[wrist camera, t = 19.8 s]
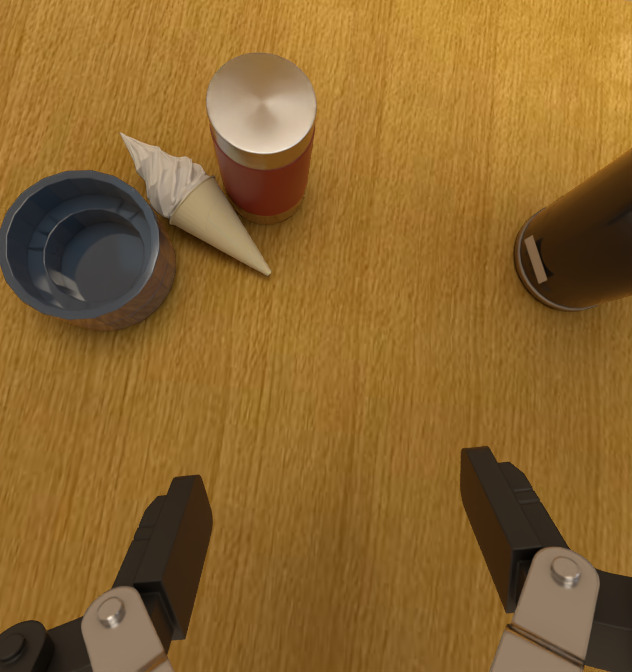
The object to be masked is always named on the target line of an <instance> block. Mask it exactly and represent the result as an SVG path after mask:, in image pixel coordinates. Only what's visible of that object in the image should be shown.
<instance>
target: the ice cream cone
mask: <svg viewBox="0 0 632 672" xmlns="http://www.w3.org/2000/svg"><path fill="white" fill-rule="evenodd" d="M119 134H120V135H121V136H122V138H123V140H124V142H125V144H126V146H127V148H128V150H129V152H130V154H131V156H132V158H133V161H134V163H135V167H136V172H137V173H138V174H139V175H140V176H141V177H142V178H143V179H144V180H145V183H146V190H147V198H148V199H149V200H150V205H151V206H152V208H153V209H154V210H155V211H156V212H157V213H159V214H161V215H162V216H163V217H165V218H168V219H170V221H169V224H170V225H175V226H177V227H179V228H181V229H182V230H184V231H186V232H188V233H190V234H192V235H194V236H195V237H197V238H199V239H201V240H203V241H205V242H206V243H208V244H210V245H212V246H213V247H215V248H217V249H219V250H221V251H222V252H224V253H226V254H228V255H230V256H232V257H233V258H235V259H237V260H239V261H241V262H243V263H244V264H246V265H248V266H250V267H252V268H254V269H255V270H257V271H259V272H261V273H263V274H265V275H266V276H268V275H269V274H270V273H271V272H272V271H271V270H270V268H269V266H268V265H267V263H266V261H265V260H264V258H263V257H262V255H261V253H260V252H259V250H258V248H257V247H256V245H255V243H254V242H253V240H252V239H251V237H250V235H249V234H248V232H247V230H246V229H245V227H244V226H243V224H242V222H241V221H240V219H239V217H238V216H237V214H236V212H235V211H234V209H233V208H232V206H231V204H230V203H229V201H228V199H227V198H226V196H225V195H224V193H223V192H222V190H221V188H220V187H219V185H218V184H217V182H216V180H215V176H214V175H213V176H208V175H206V172H205V171H204V170H203V168H202V166H201V165H199V164H196V163H192V160H191V159H190V158H188V157H186V156H184V157H175V156H171V155H169V154H167V153H166V152H164V151H162V150H160V147H158V146H152V145H148V144H145V143H143V142H140V141H138V140H136V139H133V138H131V137H128V136H126V135H124V134H122V133H119Z"/></svg>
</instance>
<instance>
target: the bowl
mask: <svg viewBox="0 0 632 672" xmlns="http://www.w3.org/2000/svg"><path fill="white" fill-rule="evenodd" d="M0 266H1V269H2V272H3V275H4V278H5V280H6V282H7V284H8V285H9V286H10V287H11V289H12V290H13V291H14V292H15V293H16V295H17V296H18V297H19V298H20V300H22V301H23V302H25V303H26V304H28V305H29V306H31V307H33V308H34V309H36V310H37V311H39V312H41V313H43V314H45V315H48V316H51V317H53V318H56V319H59V320H62V321H65V322H67V323H70V324H73V325H76V326H79V327H83V328H87V329H91V330H95V331H104V330H119V329H122V328H125V327H128V326H131V325H133V324H136V323H139V322H141V321H142V320H144V319H145V318H146V317H147V316H149V315H150V314H151V313H153V312H154V311H155V310H157V308H158V307H159V306H160V304H161V303H162V302H163V300H164V299H165V297H166V296H167V294H168V293H169V291H170V289H171V286H172V282H173V279H174V276H175V271H176V268H175V252H174V248H173V245H172V243H171V240H170V238H169V235H168V233H167V231H166V230H165V228H164V227H163V225H162V224H161V222H160V221H159V219H158V218H157V216H156V215H155V213H154V212H153V210H152V208H151V207H150V206H149V204H148V203H147V202H146V201H145V200H144V198H143V197H142V196H141V195H140V194H139V192H138V191H137V190H136V189H135V188H133V187H131V186H130V185H128V184H127V183H125V182H123V181H122V180H120V179H119V178H117V177H115V176H112V175H108V174H104V173H101V172H97V171H93V170H92V171H91V170H82V171H65V172H62V173H58V174H55V175H52V176H49V177H46V178H43V179H41V180H40V181H38V182H37V183H35V184H34V185H32V186H31V187H29V188H28V189H26V190H25V191H24V192H22V193H21V194H20V196H19V197H18V198H17V199H16V201H15V202H14V203H13V204H12V206H11V207H10V208H9V209H8V211H7V212H6V215H5V217H4V220H3V223H2V226H1V228H0Z"/></svg>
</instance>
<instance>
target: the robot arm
mask: <svg viewBox="0 0 632 672" xmlns="http://www.w3.org/2000/svg"><path fill="white" fill-rule="evenodd" d="M514 254H515V264H516V268H517V271H518V274H519V277H520V279H521V281H522V282H523V284H524V286H525V287H526V288H527V290H528V291H529V292H530V293H531V294H532V295H533V296H534V297H535V298H536V299H538V300H539V301H540V302H542V303H543V304H545V305H547V306H549V307H551V308H554V309H557V310H561V311H570V312H572V311H581V310H585V309H589V308H592V307H595V306H597V305H599V304H602V303H606V302H609V301H613V300H617V299H620V298H624V297H627V296H631V295H632V148H631V149H630V150H628V151H627V152H625V153H624V154H623V155H621V156H620V157H618V158H617V159H615V160H614V161H612V162H611V163H610V164H608V165H607V166H605V167H604V168H602V169H601V170H600V171H598V172H597V173H595V174H594V175H592V176H591V177H590V178H588V179H587V180H585V181H584V182H582V183H581V184H580V185H578V186H577V187H575V188H574V189H572V190H571V191H570V192H568V193H567V194H565V195H564V196H562V197H561V198H559V199H558V200H556V201H555V202H554V203H552V204H551V205H549V206H548V207H546V208H544V209H542V210H540V211H539V212H537V213H536V214H534V215H533V216H532V217H530V218H529V219H528V220H527V221H526V223H525V224H524V225H523V226H522V228H521V230H520V232H519V234H518V236H517V239H516V243H515V251H514ZM460 490H461V497H462V502H463V505H464V508H465V511H466V513H467V516H468V519H469V521H470V524H471V526H472V529H473V531H474V534H475V536H476V539H477V541H478V544H479V546H480V549H481V551H482V554H483V556H484V559H485V561H486V564H487V566H488V569H489V571H490V574H491V576H492V579H493V582H494V584H495V587H496V589H497V592H498V594H499V597H500V599H501V602H502V604H503V607H504V609H505V612H506V613H514V616H513V618H512V621H511V623H510V625H509V624H507V626H506V627H505V629H504V632H503V635H502V637H501V640H500V643H499V646H498V649H497V651H496V654H495V657H494V660H493V663H492V666H491V668H490V671H489V672H583V669H584V665H587V666H590V667H594V668H598V669H602V670H606V671H610V672H632V577H627V576H622V575H617V574H612V573H608V572H604V571H601V570H598V569H596V568H594V567H593V566H592V564H591V563H590V562H589V561H588V560H587V559H585V558H584V557H583V556H581V555H580V554H578V553H576V552H574V551H572V550H570V548H569V547H568V546H567V544H566V542H565V541H564V539H563V537H562V536H561V534H560V532H559V531H558V529H557V527H556V526H555V524H554V522H553V521H552V519H551V517H550V516H549V514H548V513H547V511H546V509H545V508H544V506H543V504H542V503H541V502H540V499H539V498H538V496H537V494H536V493H535V491H533V489H532V486H531V484H530V483H529V481H528V480H527V478H526V476H525V475H524V473H523V472H521V471H520V470H519V469H518V468H516V467H515V466H514V465H513V464H511V463H510V462H502V463H497V461H496V459H495V457H494V455H493V453H492V452H491V450H490V448H489V447H488V446H482V447H472V448H463V449H462V450H461V474H460ZM212 524H213V519H212V511H211V507H210V504H209V500H208V497H207V494H206V491H205V487H204V484H203V481H202V478H201V476H200V475H190V476H180V477H175V478H174V479H173V480H172V482H171V485H170V488H169V490H168V493H167V495H164V496H157V498H156V499H155V500H154V501H153V502H152V503H151V504H150V505H149V507H148V508H147V509H146V510H145V512H144V514H143V517H142V519H141V521H140V524H139V528H137V531H136V533H135V535H134V540H133V541H132V542H131V545H130V547H129V549H128V552H127V554H126V556H125V559H124V561H123V563H122V566H121V568H120V570H119V572H118V575H117V577H116V579H115V582H114V584H113V586H112V588H111V589H110V590H108V591H106V592H104V593H103V594H102V595H100V596H99V597H98V598H97V599H95V600H94V601H93V603H92V604H91V605H90V606H89V607H88V609H87V610H86V612H85V614H84V616H82V617H80V618H78V619H75V620H73V621H70V622H68V623H65V624H63V625H60V626H58V627H55V628H52V629H50V630H47V631H46V629H45V627H44V626H43V624H41V623H40V622H38V621H34V620H30V621H24V622H21V623H18V624H16V625H14V626H12V627H10V628H9V629H7V630H5V631H4V632H3V633H1V634H0V672H174V670H173V668H172V665H171V663H170V661H169V659H168V656H167V654H168V650H169V646H170V643H171V640H183V639H185V638H186V634H187V630H188V626H189V622H190V618H191V614H192V610H193V606H194V602H195V597H196V593H197V589H198V585H199V581H200V577H201V573H202V569H203V565H204V561H205V557H206V553H207V549H208V545H209V540H210V536H211V532H212Z"/></svg>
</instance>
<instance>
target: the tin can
mask: <svg viewBox="0 0 632 672" xmlns="http://www.w3.org/2000/svg"><path fill="white" fill-rule="evenodd" d="M206 109H207V114H208V118H209V122H210V130H211V135H212V139H213V143H214V147H215V151H216V155H217V159H218V164H219V168H220V172H221V176H222V180H223V184H224V187H225V190H226V193H227V197H228V200H229V202H230V204H231V205H232V207H233V208H234V210H235V211H236V212H237V213H238V214H239V215H241V216H242V217H243V218H245V219H247V220H249V221H251V222H254V223H258V224H275V223H279V222H282V221H284V220H286V219H288V218H289V217H291V216H292V215H293V214H294V213H295V212H296V211H297V210H298V208H299V207H300V205H301V203H302V201H303V199H304V194H305V189H306V185H307V179H308V173H309V166H310V159H311V153H312V146H313V139H314V132H315V119H316V111H317V102H316V96H315V92H314V89H313V87H312V85H311V83H310V81H309V79H308V78H307V76H306V75H305V74H304V73H303V72H302V70H301V69H299V68H298V67H297V66H296V65H295V64H293V63H292V62H290V61H288V60H286V59H284V58H282V57H280V56H277V55H273V54H268V53H250V54H245V55H241V56H238V57H236V58H234V59H232V60H230V61H228V62H227V63H225V64H224V65H223V66H222V67H221V68H220V69H219V70H218V71H217V72H216V73H215V75H214V76H213V78H212V80H211V82H210V84H209V86H208V90H207V95H206Z"/></svg>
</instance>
